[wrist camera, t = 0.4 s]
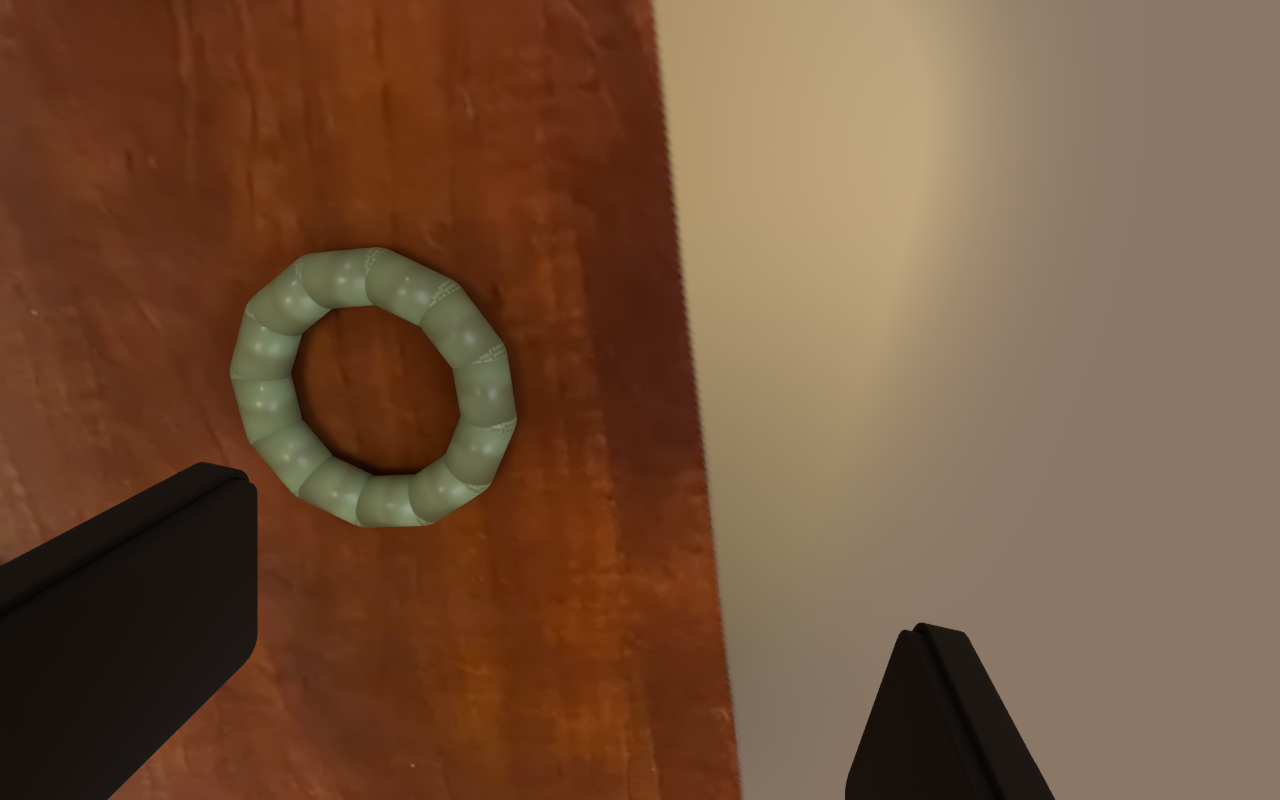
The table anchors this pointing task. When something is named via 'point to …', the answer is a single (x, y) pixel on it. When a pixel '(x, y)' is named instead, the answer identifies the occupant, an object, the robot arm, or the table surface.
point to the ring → (448, 325)
